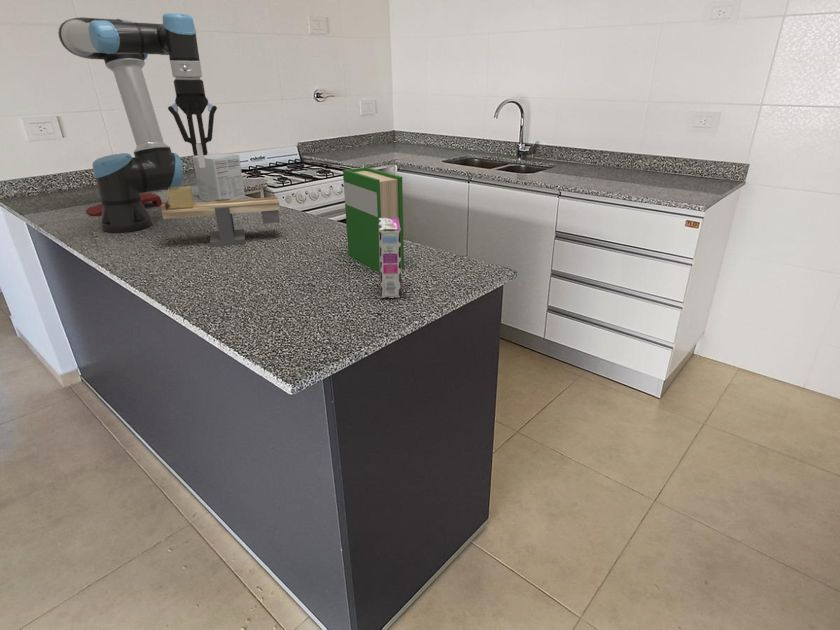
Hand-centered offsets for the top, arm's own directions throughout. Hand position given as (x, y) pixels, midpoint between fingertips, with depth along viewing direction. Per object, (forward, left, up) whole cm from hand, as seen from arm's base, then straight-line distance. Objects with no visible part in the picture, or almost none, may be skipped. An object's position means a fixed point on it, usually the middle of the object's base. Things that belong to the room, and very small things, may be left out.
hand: (202, 166), depth 152 cm
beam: (+1, +4, -17) cm, 18 cm away
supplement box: (-63, 0, -23) cm, 67 cm away
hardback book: (+36, +43, -23) cm, 60 cm away
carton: (-56, -35, -23) cm, 70 cm away
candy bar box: (+57, +42, -23) cm, 74 cm away
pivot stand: (+1, +4, -22) cm, 23 cm away
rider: (0, -7, -12) cm, 14 cm away
